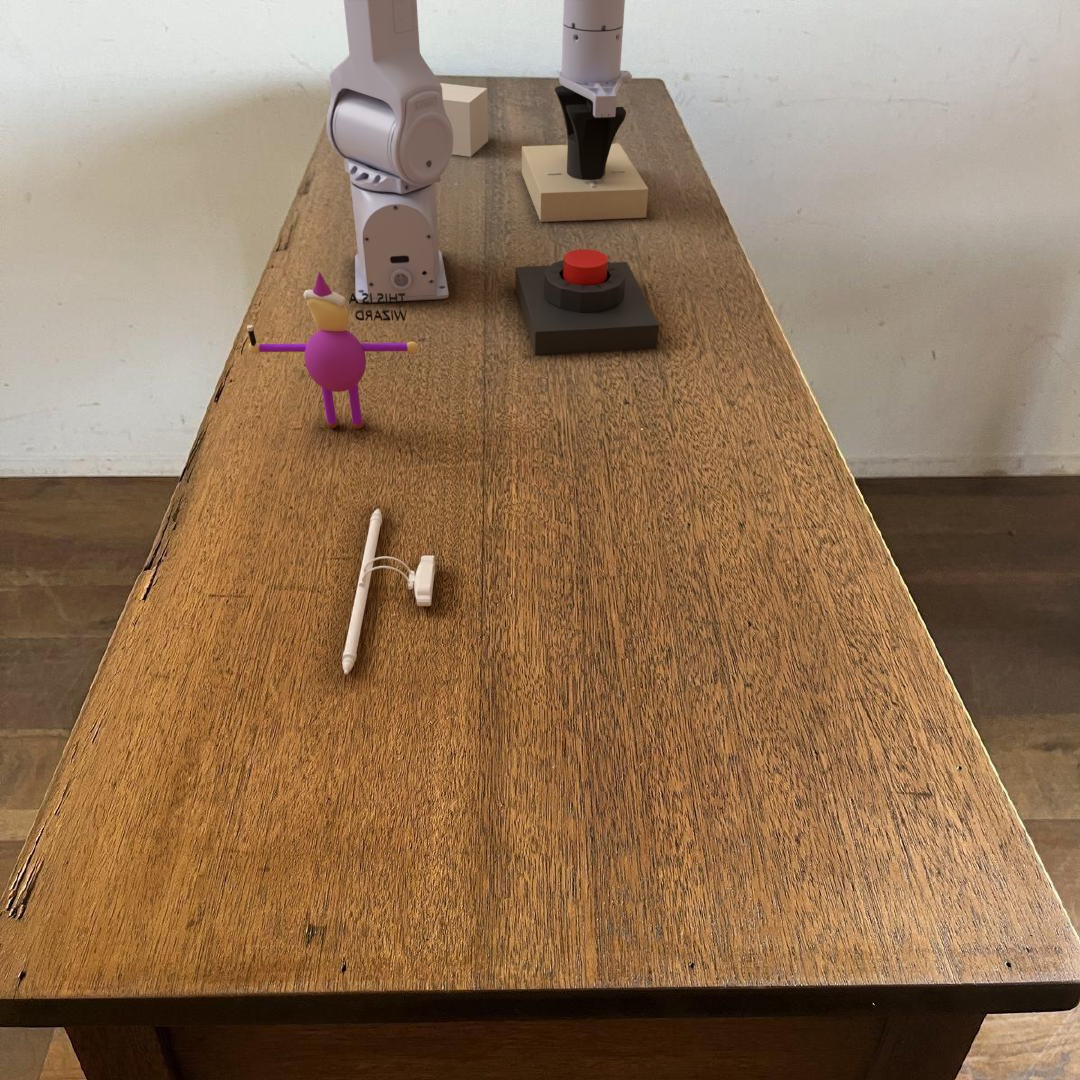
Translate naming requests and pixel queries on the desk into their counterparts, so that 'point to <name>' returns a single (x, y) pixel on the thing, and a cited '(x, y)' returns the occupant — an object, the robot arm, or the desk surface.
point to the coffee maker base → (584, 311)
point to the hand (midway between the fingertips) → (586, 169)
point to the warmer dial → (573, 158)
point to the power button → (585, 267)
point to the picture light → (420, 582)
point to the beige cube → (466, 117)
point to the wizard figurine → (336, 347)
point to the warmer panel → (582, 187)
